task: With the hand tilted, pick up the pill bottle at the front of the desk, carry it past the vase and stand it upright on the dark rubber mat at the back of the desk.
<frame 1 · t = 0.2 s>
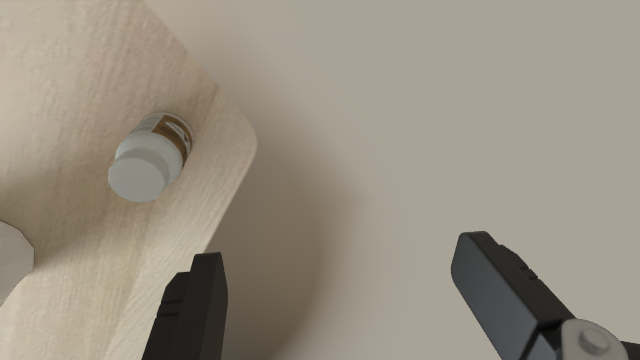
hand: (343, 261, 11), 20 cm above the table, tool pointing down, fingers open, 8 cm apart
pill bottle: (167, 134, 29), on the table
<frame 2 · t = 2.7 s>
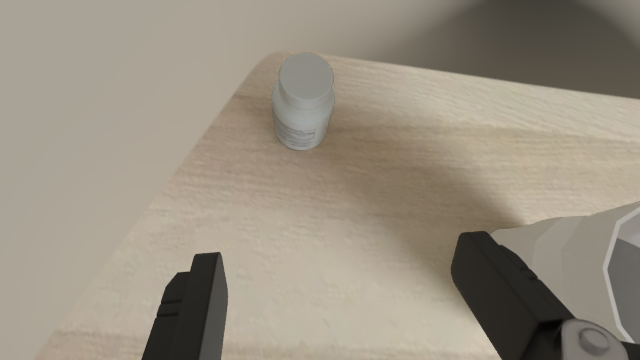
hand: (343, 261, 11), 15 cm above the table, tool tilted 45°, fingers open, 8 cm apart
vase: (515, 282, 27), on the table
pill bottle: (300, 128, 28), on the table
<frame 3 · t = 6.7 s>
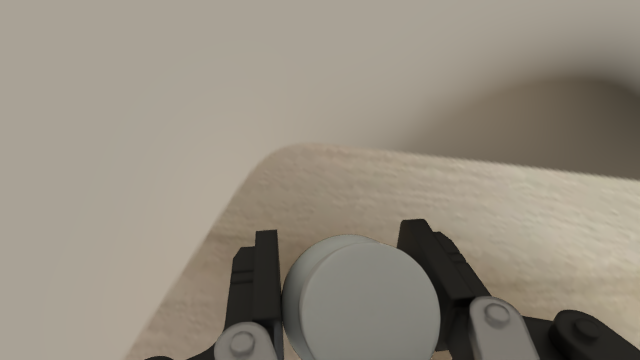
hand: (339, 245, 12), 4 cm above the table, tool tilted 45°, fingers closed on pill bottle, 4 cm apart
pill bottle: (329, 294, 16), on the table, touching gripper
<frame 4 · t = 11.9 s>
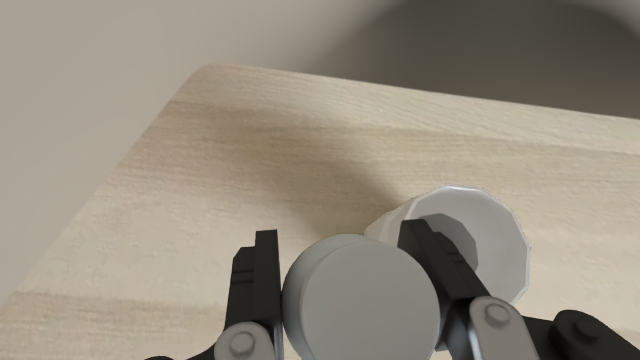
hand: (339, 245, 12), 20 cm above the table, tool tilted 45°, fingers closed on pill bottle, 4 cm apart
vase: (399, 257, 33), on the table
pill bottle: (329, 293, 16), point 16 cm above the table, touching gripper
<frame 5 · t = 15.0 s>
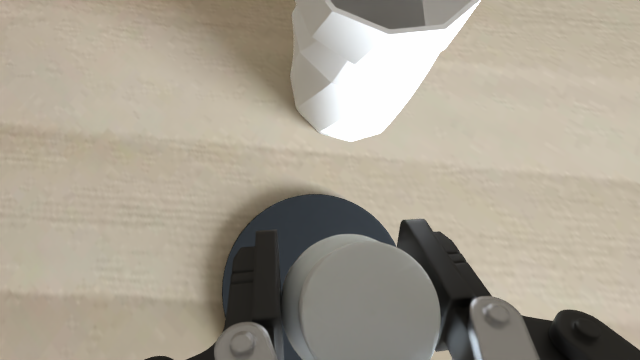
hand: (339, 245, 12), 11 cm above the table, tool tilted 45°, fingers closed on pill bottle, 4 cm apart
vase: (345, 91, 26), on the table
pill bottle: (329, 293, 16), point 7 cm above the table, touching gripper
rubber mat: (316, 284, 22), on the table
when the fingers open (4 cm above the table, at t = 17.1 s): pill bottle stays where it is, resting on rubber mat.
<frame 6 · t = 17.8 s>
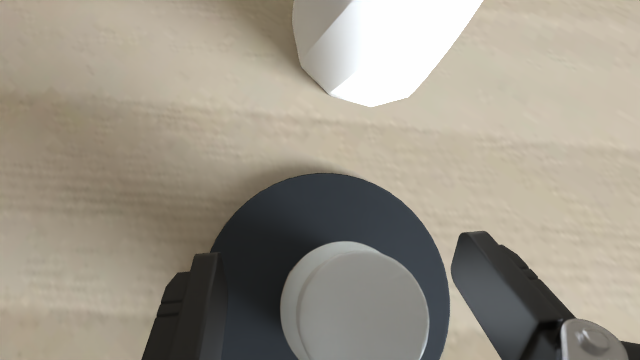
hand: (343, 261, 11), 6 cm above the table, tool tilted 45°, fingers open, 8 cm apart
vase: (362, 44, 21), on the table
pill bottle: (327, 296, 16), resting on rubber mat
rubber mat: (327, 293, 16), on the table
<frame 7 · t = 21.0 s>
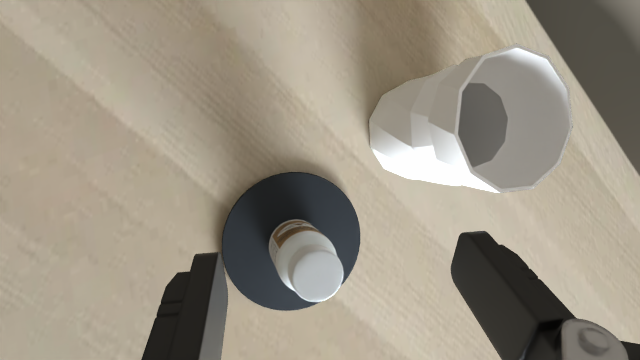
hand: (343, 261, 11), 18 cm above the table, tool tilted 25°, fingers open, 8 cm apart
vase: (408, 131, 32), on the table
pill bottle: (293, 243, 29), resting on rubber mat
rubber mat: (294, 241, 29), on the table
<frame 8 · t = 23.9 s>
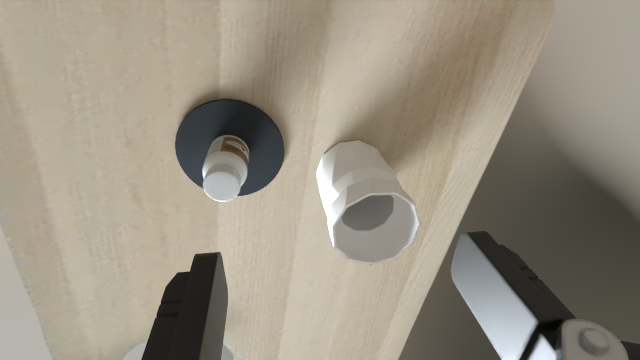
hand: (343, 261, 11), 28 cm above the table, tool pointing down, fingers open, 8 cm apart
vase: (349, 169, 42), on the table
pill bottle: (229, 151, 39), resting on rubber mat
rubber mat: (231, 150, 39), on the table
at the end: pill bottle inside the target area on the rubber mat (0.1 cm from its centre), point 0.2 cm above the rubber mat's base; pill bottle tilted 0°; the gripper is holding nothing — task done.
